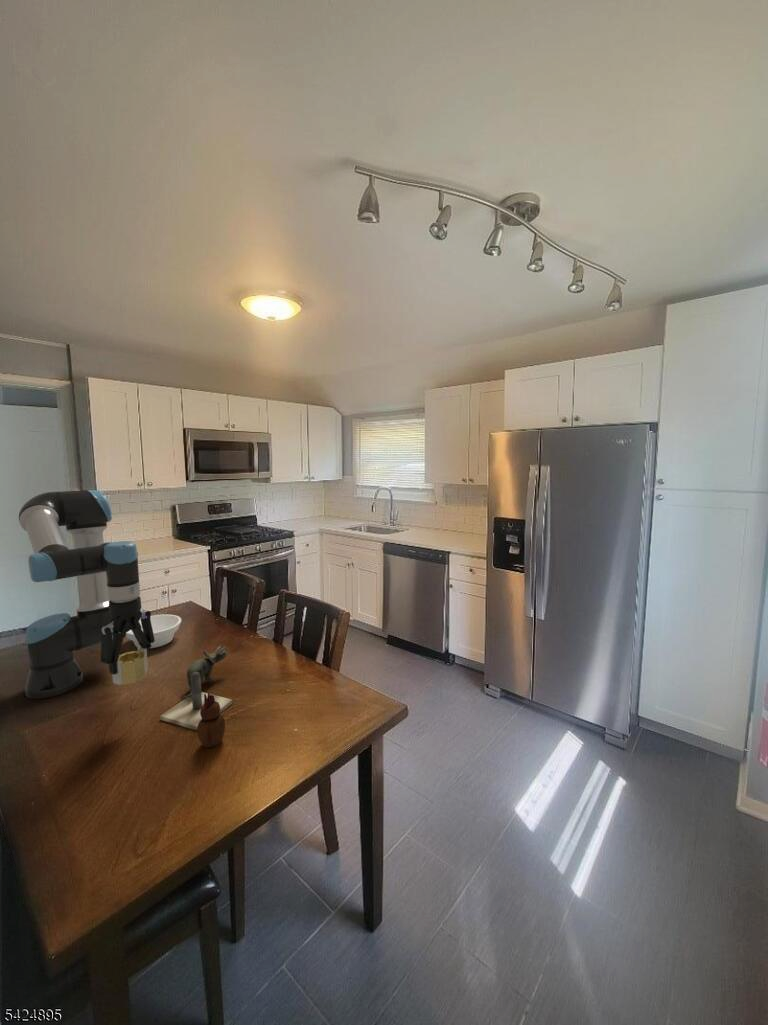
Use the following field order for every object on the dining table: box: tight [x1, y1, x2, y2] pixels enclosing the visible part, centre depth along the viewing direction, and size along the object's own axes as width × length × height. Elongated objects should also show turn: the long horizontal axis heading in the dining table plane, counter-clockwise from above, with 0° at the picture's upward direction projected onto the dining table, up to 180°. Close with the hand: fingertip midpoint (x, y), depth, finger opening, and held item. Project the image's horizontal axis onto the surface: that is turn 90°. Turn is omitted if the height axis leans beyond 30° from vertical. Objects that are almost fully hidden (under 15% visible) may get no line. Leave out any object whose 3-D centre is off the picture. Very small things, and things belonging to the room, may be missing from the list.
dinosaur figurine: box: [182, 643, 228, 699], centre depth 138 cm, size 22×8×11 cm, turn 167°
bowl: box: [125, 614, 182, 649], centre depth 172 cm, size 21×21×8 cm
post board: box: [160, 672, 234, 731], centre depth 125 cm, size 14×14×12 cm
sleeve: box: [118, 650, 147, 686], centre depth 118 cm, size 7×7×6 cm
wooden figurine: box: [196, 692, 226, 749], centre depth 111 cm, size 7×6×15 cm
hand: (131, 676), depth 118 cm, fingers closed on sleeve, 7 cm apart
